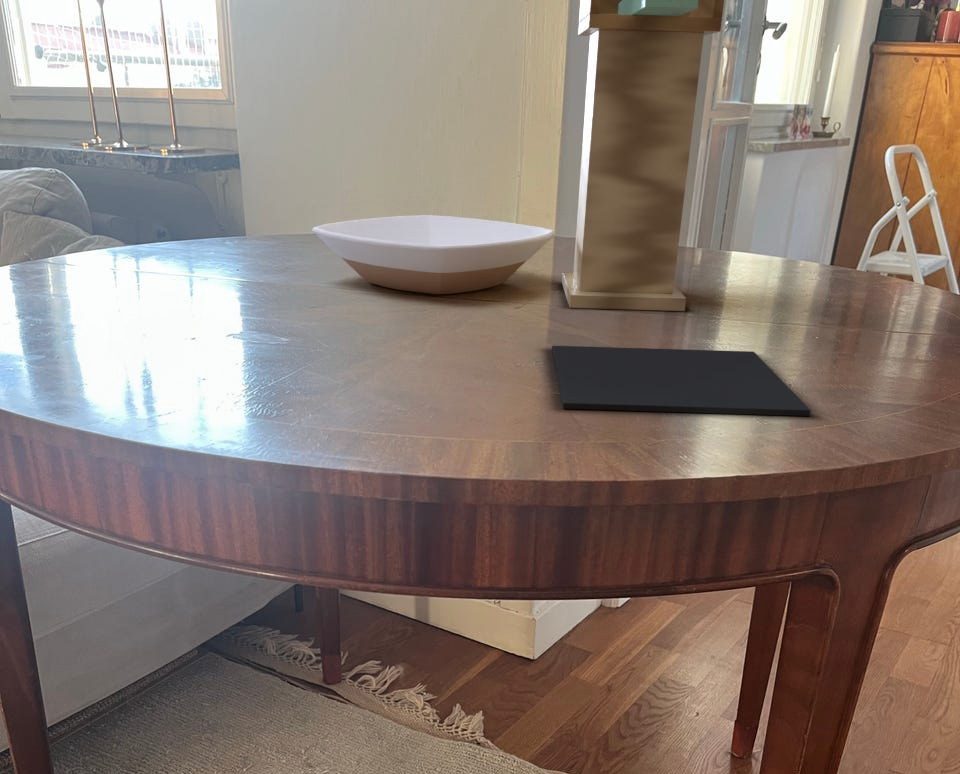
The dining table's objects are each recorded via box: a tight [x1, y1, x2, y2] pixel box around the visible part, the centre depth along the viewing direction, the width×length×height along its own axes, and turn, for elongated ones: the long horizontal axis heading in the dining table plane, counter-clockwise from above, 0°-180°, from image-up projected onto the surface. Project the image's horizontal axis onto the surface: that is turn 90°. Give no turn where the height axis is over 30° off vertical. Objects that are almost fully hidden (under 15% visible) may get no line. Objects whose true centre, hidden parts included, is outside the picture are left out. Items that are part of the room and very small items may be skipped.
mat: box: [551, 345, 812, 417], centre depth 68 cm, size 16×16×1 cm
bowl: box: [312, 214, 556, 295], centre depth 99 cm, size 22×22×5 cm
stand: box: [561, 0, 725, 312], centre depth 90 cm, size 11×13×26 cm
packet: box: [618, 0, 698, 16], centre depth 80 cm, size 4×20×2 cm, turn 179°
